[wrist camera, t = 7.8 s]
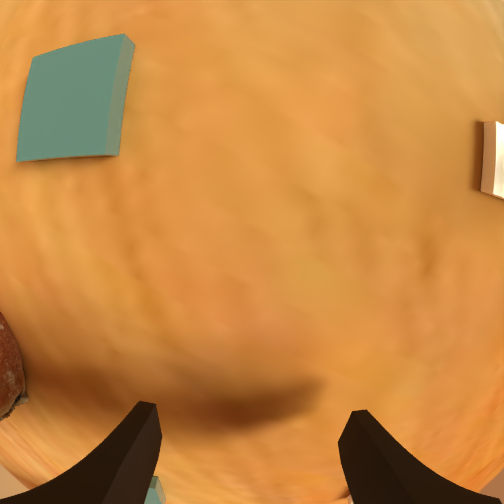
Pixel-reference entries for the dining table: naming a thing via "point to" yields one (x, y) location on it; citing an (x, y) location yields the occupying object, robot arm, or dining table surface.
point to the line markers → (111, 113)
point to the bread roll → (10, 372)
